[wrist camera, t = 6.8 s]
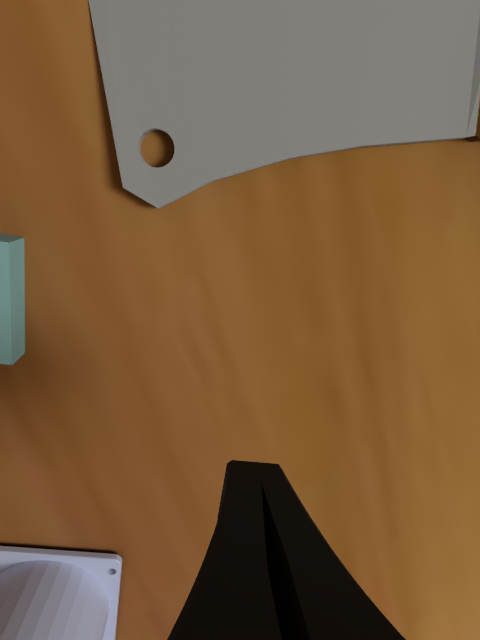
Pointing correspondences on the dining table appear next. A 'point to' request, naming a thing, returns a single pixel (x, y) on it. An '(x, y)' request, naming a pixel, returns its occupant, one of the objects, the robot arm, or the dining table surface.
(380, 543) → the dining table surface
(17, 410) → the dining table surface
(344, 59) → the kitchen cleaver
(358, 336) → the dining table surface
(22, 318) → the slat
